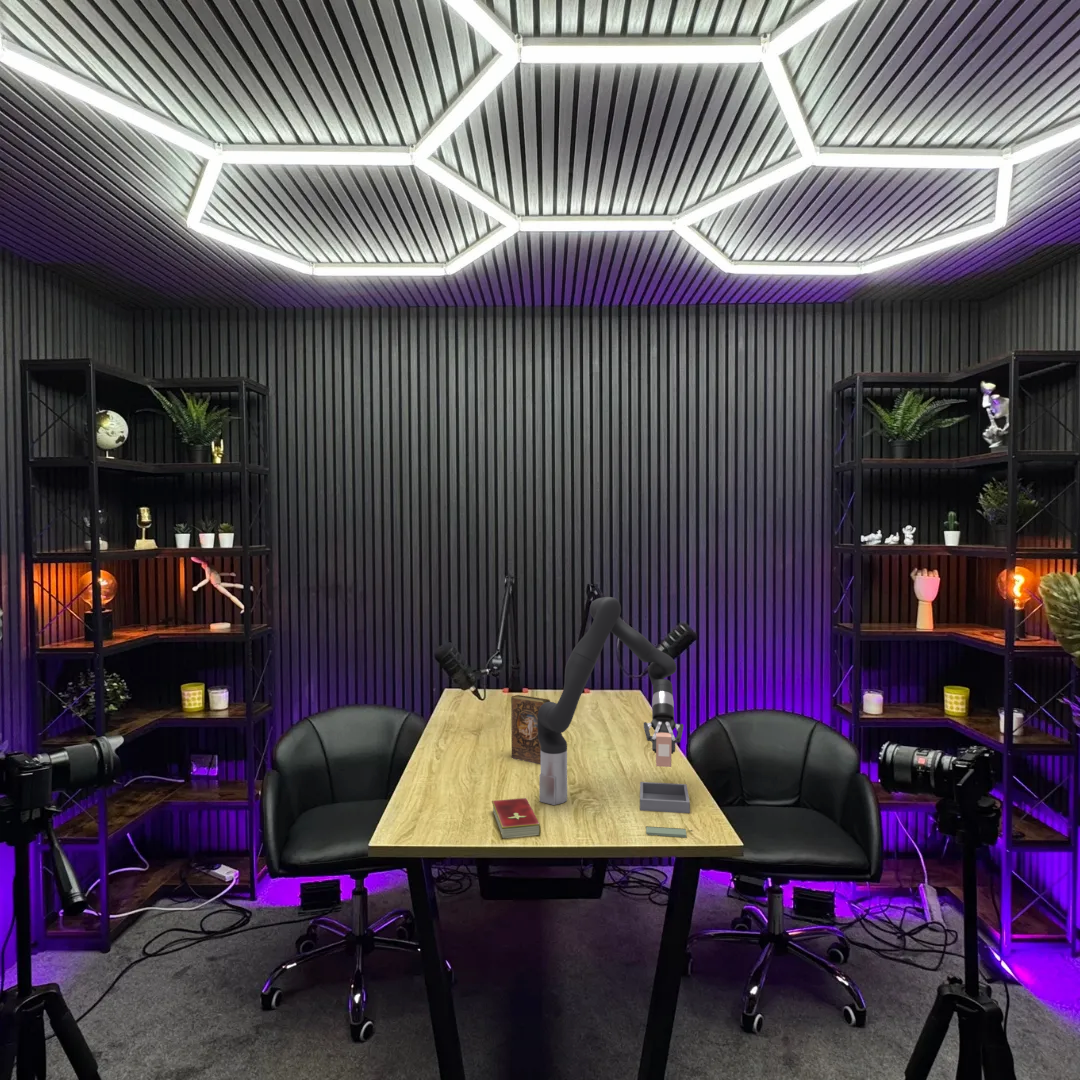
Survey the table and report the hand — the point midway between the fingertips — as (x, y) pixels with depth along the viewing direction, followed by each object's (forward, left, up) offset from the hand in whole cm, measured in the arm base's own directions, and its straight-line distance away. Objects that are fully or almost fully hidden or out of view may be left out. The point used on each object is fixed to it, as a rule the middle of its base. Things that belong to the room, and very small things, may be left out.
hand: (663, 752), depth 225 cm
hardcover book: (-37, +35, -19) cm, 55 cm away
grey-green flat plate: (-15, -7, -19) cm, 25 cm away
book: (+16, +65, -19) cm, 69 cm away
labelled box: (+2, +1, -5) cm, 5 cm away
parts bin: (+2, +1, -19) cm, 19 cm away
